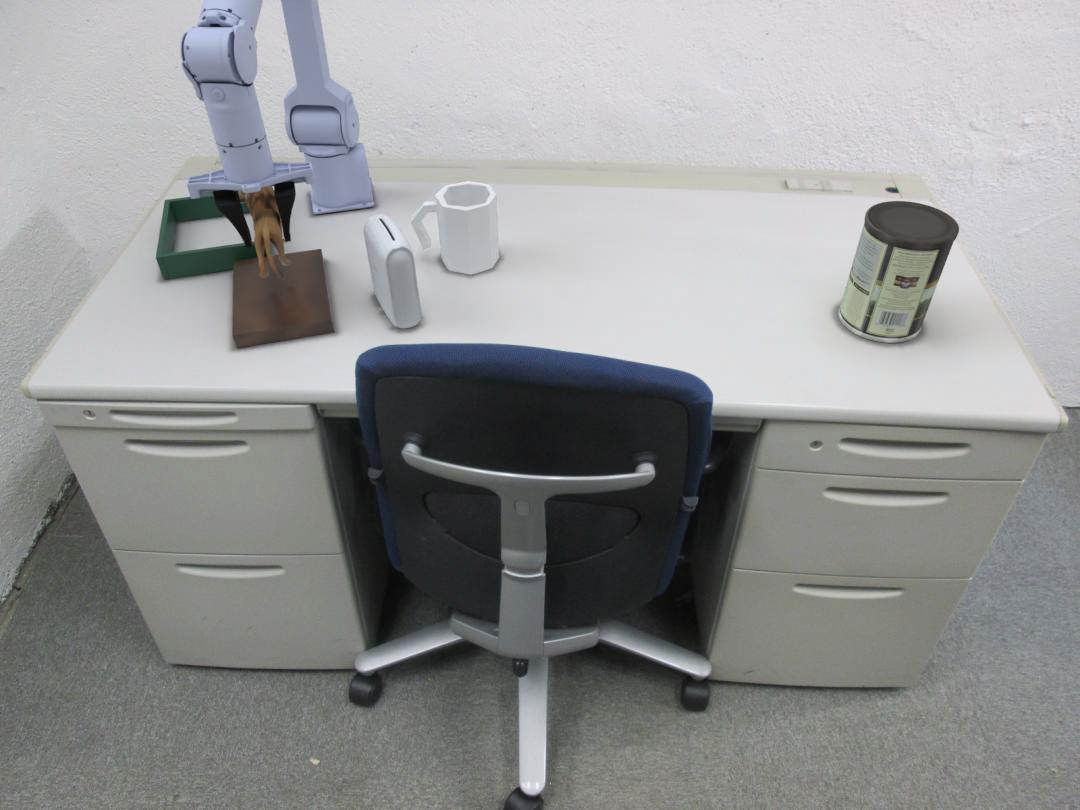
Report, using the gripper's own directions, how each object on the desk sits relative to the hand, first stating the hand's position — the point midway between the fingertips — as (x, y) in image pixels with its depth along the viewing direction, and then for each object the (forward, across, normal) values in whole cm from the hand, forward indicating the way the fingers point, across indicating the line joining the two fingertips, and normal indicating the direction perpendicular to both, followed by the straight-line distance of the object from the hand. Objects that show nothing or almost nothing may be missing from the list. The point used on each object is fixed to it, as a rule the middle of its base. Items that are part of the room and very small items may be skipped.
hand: (268, 240), depth 101 cm
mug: (+8, +24, +2) cm, 26 cm away
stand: (+8, 0, -2) cm, 8 cm away
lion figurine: (+3, -1, +1) cm, 3 cm away
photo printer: (+8, +14, -8) cm, 18 cm away
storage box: (+8, -8, +17) cm, 21 cm away
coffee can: (+8, +74, -28) cm, 79 cm away
